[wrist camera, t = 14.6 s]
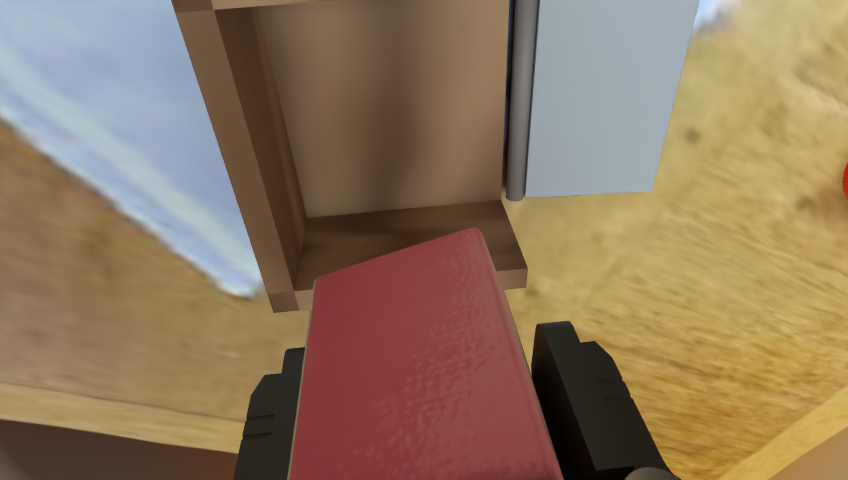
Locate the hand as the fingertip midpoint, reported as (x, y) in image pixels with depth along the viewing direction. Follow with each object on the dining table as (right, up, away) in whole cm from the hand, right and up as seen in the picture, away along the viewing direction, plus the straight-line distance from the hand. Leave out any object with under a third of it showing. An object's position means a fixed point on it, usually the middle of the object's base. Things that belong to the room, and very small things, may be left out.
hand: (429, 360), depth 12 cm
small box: (0, +1, +1) cm, 2 cm away
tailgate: (+5, +10, +13) cm, 17 cm away
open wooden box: (-2, +10, +14) cm, 17 cm away
